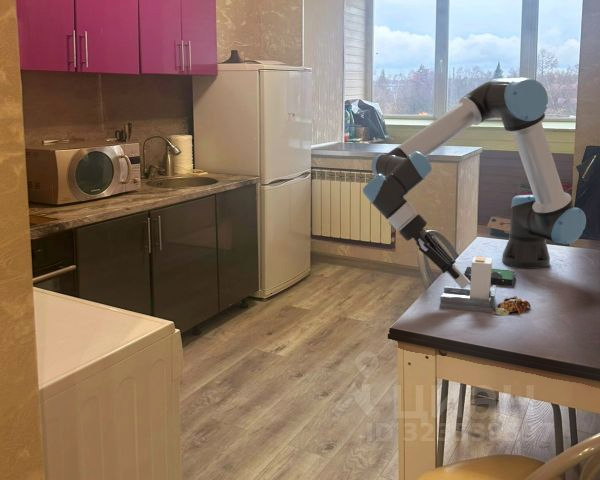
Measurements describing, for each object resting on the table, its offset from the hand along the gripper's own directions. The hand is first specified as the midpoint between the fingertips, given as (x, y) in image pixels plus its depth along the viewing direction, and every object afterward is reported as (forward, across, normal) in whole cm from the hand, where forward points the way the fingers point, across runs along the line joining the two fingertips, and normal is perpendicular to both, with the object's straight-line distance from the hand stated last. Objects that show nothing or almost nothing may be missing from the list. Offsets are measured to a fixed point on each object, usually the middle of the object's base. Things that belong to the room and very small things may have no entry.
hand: (466, 285), depth 179 cm
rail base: (+4, 0, -3) cm, 5 cm away
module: (+5, 0, 0) cm, 5 cm away
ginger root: (+13, +2, +4) cm, 13 cm away
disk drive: (+8, -25, 0) cm, 26 cm away
